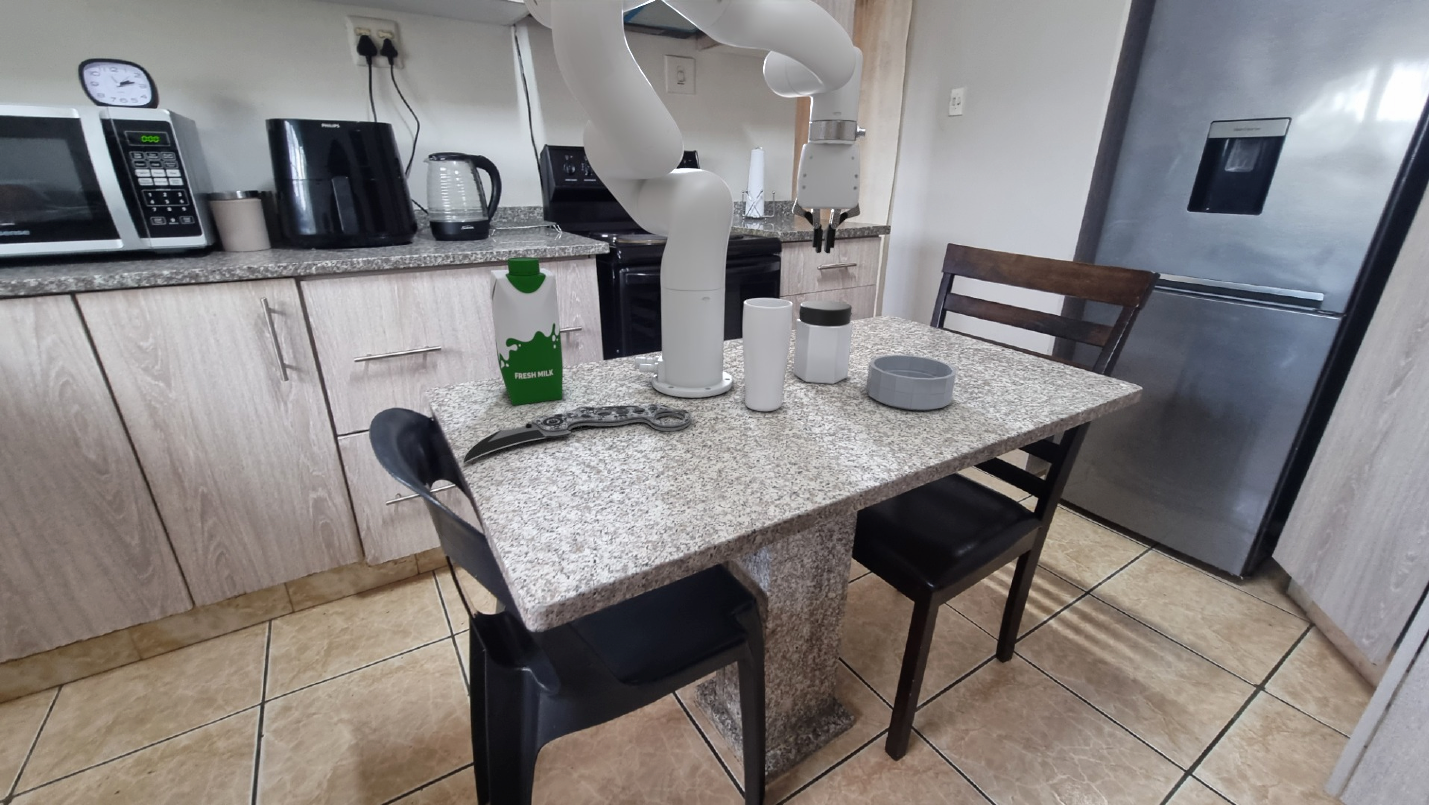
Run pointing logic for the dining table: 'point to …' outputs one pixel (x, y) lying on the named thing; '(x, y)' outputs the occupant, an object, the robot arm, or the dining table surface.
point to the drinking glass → (766, 350)
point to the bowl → (911, 382)
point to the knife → (580, 424)
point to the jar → (823, 341)
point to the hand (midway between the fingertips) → (822, 251)
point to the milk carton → (527, 331)
